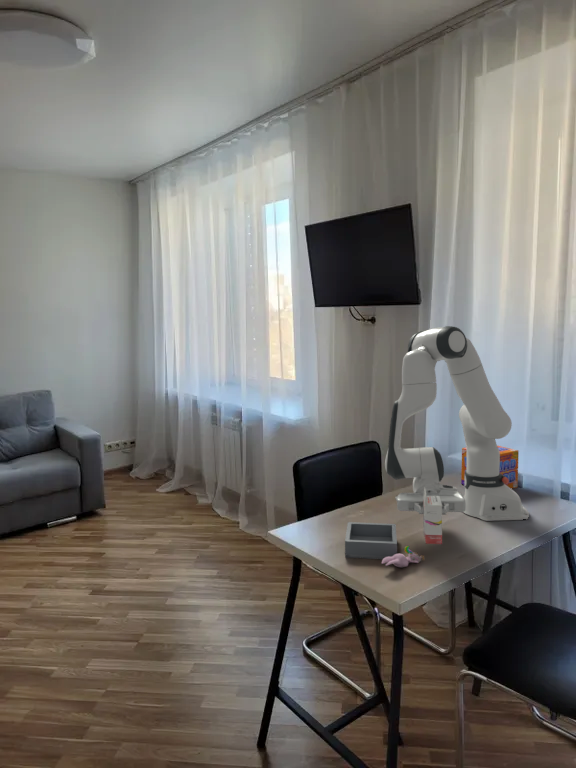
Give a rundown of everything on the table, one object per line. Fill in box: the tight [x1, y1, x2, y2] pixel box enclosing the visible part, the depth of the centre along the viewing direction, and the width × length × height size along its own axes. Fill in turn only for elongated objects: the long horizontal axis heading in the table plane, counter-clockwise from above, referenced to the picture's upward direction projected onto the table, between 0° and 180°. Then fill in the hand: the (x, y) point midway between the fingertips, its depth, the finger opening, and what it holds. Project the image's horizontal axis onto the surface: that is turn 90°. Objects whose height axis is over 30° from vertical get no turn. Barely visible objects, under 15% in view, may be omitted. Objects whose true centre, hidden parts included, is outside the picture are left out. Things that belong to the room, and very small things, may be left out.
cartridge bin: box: [344, 521, 398, 560], centre depth 167 cm, size 15×15×5 cm
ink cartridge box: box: [422, 487, 443, 545], centre depth 161 cm, size 9×5×15 cm, turn 170°
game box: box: [460, 445, 520, 489], centre depth 223 cm, size 16×16×16 cm
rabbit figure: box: [381, 545, 425, 568], centre depth 155 cm, size 6×6×15 cm
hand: (432, 511), depth 160 cm, fingers closed on ink cartridge box, 5 cm apart
